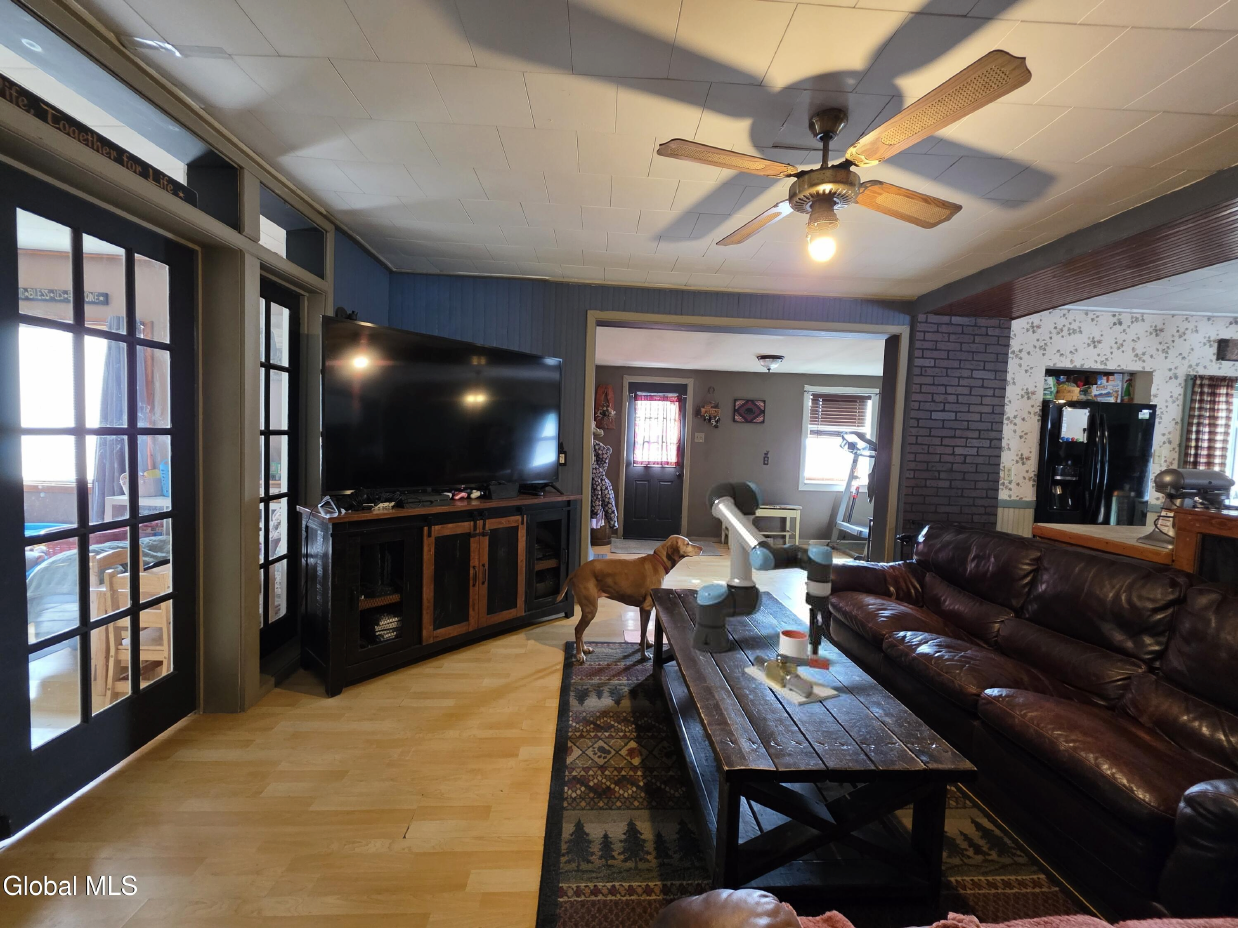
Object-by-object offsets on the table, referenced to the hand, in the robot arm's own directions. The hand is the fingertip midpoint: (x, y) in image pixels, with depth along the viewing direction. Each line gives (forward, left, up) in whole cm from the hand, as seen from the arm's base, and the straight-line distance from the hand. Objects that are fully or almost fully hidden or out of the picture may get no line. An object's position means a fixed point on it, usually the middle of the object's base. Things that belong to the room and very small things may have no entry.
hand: (813, 662), depth 176 cm
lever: (-1, -4, 0) cm, 4 cm away
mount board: (-5, -5, -8) cm, 11 cm away
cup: (-19, +9, -8) cm, 23 cm away
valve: (-5, -9, -8) cm, 13 cm away
